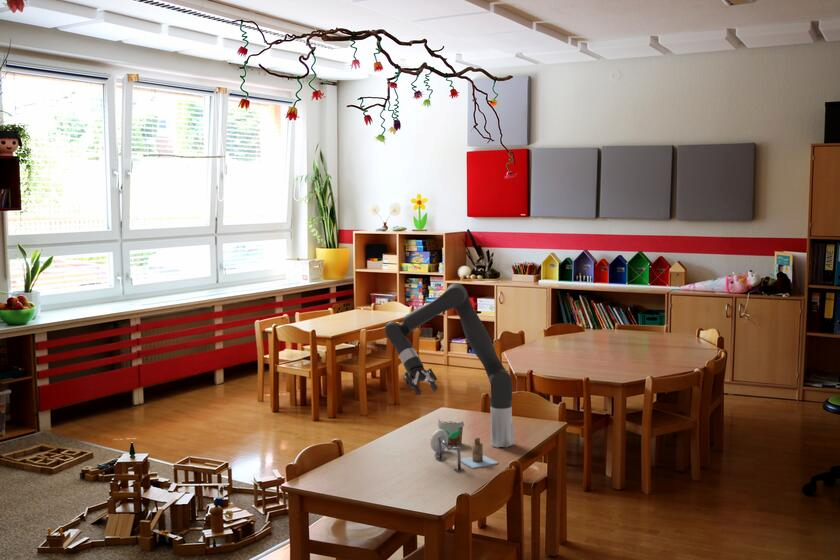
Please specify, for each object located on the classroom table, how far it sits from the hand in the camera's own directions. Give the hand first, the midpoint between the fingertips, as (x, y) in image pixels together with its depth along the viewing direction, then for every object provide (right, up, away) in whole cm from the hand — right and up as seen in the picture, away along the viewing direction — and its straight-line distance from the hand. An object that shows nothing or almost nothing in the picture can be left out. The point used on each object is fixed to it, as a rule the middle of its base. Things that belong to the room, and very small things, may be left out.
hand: (427, 392), depth 331 cm
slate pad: (+20, -28, -8) cm, 35 cm away
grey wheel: (+5, -27, +7) cm, 28 cm away
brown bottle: (+20, -27, -8) cm, 35 cm away
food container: (+10, -26, +18) cm, 33 cm away
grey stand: (+9, -28, -10) cm, 31 cm away
